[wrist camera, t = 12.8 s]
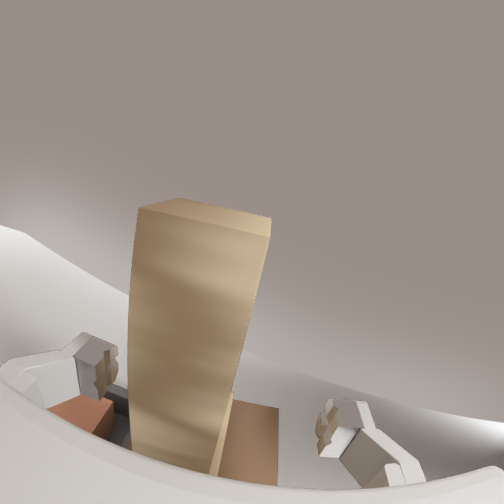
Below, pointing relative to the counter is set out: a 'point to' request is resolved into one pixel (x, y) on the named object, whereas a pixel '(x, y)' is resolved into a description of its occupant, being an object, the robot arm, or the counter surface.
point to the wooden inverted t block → (189, 326)
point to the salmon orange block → (88, 414)
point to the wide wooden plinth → (250, 444)
